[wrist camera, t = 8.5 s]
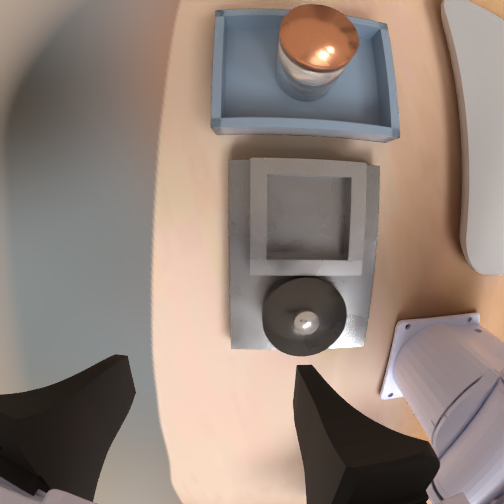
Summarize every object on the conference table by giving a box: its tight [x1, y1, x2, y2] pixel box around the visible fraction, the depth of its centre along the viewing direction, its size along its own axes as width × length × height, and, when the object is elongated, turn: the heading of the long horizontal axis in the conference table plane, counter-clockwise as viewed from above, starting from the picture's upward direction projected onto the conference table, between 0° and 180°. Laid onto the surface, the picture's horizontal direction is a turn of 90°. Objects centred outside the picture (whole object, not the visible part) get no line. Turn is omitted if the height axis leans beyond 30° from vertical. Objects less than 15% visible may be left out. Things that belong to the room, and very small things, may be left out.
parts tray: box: [211, 9, 400, 143], centre depth 17 cm, size 12×9×2 cm
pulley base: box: [229, 158, 380, 356], centre depth 19 cm, size 10×13×3 cm
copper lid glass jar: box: [276, 4, 359, 102], centre depth 15 cm, size 4×4×6 cm
